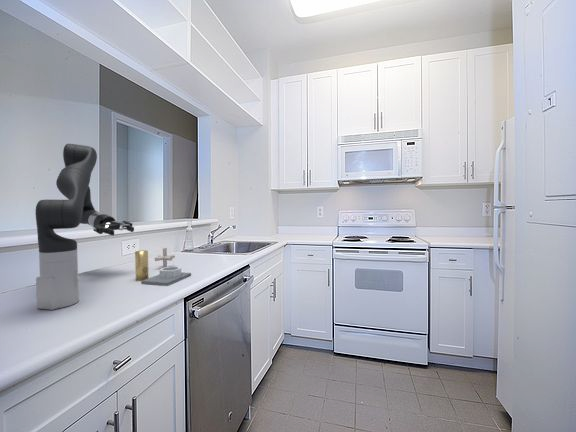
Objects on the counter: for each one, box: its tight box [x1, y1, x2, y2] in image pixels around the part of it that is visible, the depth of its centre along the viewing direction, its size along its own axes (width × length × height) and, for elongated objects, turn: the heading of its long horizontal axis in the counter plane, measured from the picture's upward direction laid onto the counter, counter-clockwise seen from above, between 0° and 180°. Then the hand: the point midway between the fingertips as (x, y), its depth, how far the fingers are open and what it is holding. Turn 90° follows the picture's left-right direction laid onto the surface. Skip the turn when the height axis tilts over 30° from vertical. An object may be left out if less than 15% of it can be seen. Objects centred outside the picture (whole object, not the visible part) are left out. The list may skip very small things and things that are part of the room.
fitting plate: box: [140, 265, 192, 287], centre depth 114 cm, size 16×12×4 cm
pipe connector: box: [154, 247, 176, 268], centre depth 136 cm, size 10×10×10 cm
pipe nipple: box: [134, 249, 149, 282], centre depth 115 cm, size 5×5×12 cm
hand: (123, 231), depth 117 cm, fingers open, 8 cm apart
